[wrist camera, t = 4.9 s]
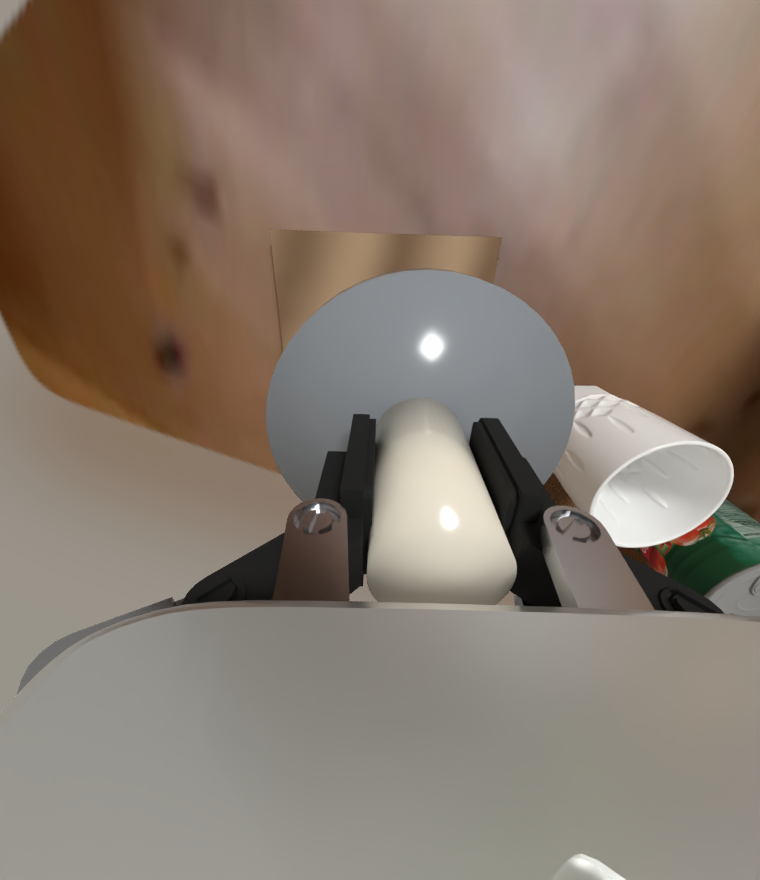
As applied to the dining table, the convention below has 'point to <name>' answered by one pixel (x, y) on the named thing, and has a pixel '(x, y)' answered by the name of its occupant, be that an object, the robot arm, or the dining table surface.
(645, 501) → the white cup
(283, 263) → the cork mat
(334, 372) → the lid
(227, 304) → the dining table surface
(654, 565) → the canned tomato
